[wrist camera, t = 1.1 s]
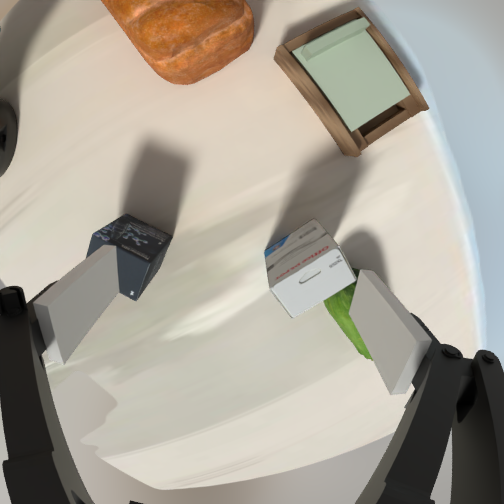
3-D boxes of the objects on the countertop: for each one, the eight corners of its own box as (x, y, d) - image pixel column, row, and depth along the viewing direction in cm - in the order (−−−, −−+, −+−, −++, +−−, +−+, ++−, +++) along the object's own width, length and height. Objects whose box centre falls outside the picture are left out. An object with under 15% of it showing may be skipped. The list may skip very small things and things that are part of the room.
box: (174, 235, 41) (151, 263, 31) (160, 268, 42) (136, 304, 32) (126, 211, 39) (91, 232, 29) (114, 245, 41) (80, 274, 31)
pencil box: (273, 59, 33) (276, 47, 28) (347, 20, 30) (358, 6, 25) (344, 155, 37) (357, 156, 32) (411, 111, 34) (429, 108, 30)
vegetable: (361, 284, 34) (398, 377, 40) (366, 252, 40) (400, 344, 46) (309, 296, 38) (356, 382, 44) (321, 265, 44) (363, 351, 50)
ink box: (281, 277, 43) (291, 321, 32) (262, 250, 41) (267, 288, 30) (332, 245, 41) (359, 280, 30) (315, 217, 40) (339, 244, 29)
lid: (290, 53, 29) (295, 43, 26) (354, 20, 27) (364, 10, 24) (349, 132, 33) (360, 130, 29) (407, 95, 31) (422, 91, 27)
